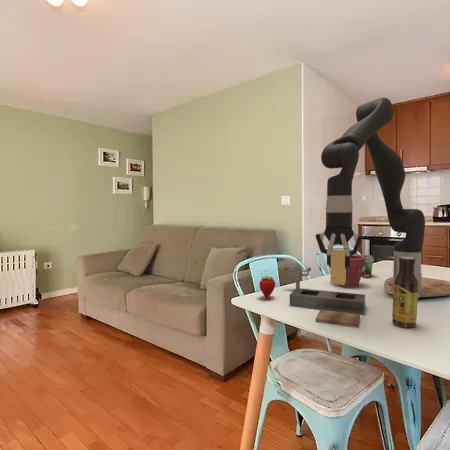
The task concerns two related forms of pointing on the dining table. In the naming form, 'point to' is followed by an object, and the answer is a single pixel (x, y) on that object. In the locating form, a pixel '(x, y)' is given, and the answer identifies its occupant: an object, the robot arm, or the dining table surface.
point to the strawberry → (267, 286)
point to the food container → (367, 266)
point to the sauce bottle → (405, 294)
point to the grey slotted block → (328, 300)
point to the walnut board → (338, 318)
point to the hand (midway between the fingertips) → (338, 267)
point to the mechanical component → (297, 273)
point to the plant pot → (354, 271)
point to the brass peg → (338, 267)
